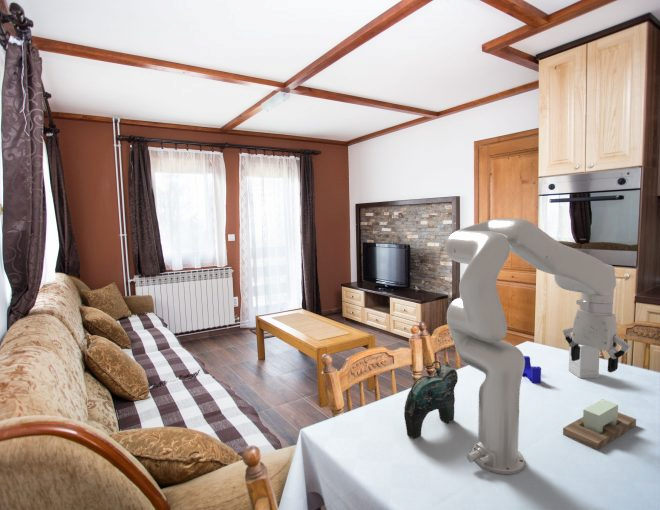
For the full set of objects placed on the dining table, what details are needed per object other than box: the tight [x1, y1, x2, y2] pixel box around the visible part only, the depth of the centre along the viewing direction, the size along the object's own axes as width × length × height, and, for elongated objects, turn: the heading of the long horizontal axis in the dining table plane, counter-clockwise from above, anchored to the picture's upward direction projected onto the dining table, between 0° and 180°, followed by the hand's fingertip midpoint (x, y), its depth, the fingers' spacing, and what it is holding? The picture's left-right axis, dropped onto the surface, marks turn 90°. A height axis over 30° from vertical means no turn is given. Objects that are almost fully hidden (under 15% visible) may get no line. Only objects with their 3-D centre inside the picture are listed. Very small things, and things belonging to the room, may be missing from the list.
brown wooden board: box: [562, 411, 637, 451], centre depth 112 cm, size 22×9×2 cm, turn 120°
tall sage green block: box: [582, 399, 619, 435], centre depth 112 cm, size 11×4×7 cm, turn 121°
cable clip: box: [522, 355, 542, 384], centre depth 149 cm, size 12×4×6 cm, turn 173°
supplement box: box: [568, 344, 601, 379], centre depth 149 cm, size 7×7×13 cm
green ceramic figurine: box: [403, 360, 458, 440], centre depth 115 cm, size 20×6×20 cm, turn 123°
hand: (592, 365), depth 111 cm, fingers open, 9 cm apart
